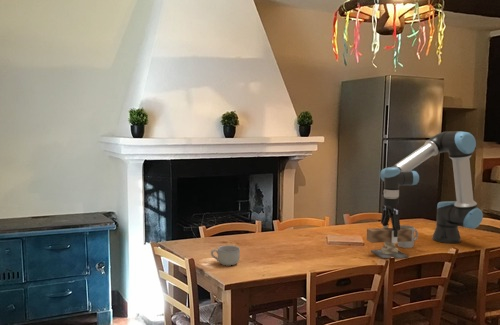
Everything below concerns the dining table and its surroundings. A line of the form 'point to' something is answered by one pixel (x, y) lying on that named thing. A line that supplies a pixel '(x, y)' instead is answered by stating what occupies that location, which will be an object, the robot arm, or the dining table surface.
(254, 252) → the dining table surface
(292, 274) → the dining table surface
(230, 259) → the teacup
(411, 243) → the mug
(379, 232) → the beam
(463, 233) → the dining table surface
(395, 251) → the fulcrum
